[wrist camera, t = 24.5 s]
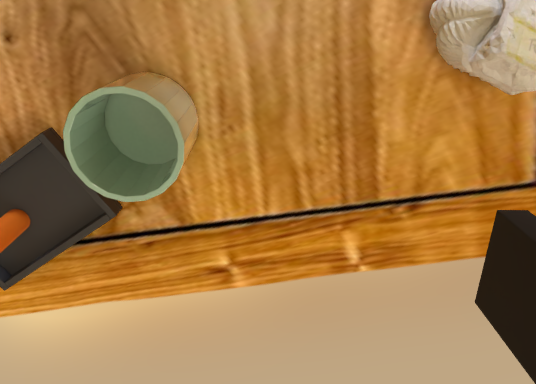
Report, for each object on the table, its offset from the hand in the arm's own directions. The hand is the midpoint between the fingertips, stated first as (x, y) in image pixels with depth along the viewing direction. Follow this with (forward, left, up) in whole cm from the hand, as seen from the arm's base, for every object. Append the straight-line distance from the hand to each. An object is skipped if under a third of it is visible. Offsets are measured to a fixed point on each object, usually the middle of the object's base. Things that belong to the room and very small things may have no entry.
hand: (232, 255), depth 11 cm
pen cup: (-4, -10, -31) cm, 32 cm away
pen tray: (-6, -25, -31) cm, 40 cm away
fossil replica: (+11, +18, -31) cm, 37 cm away
